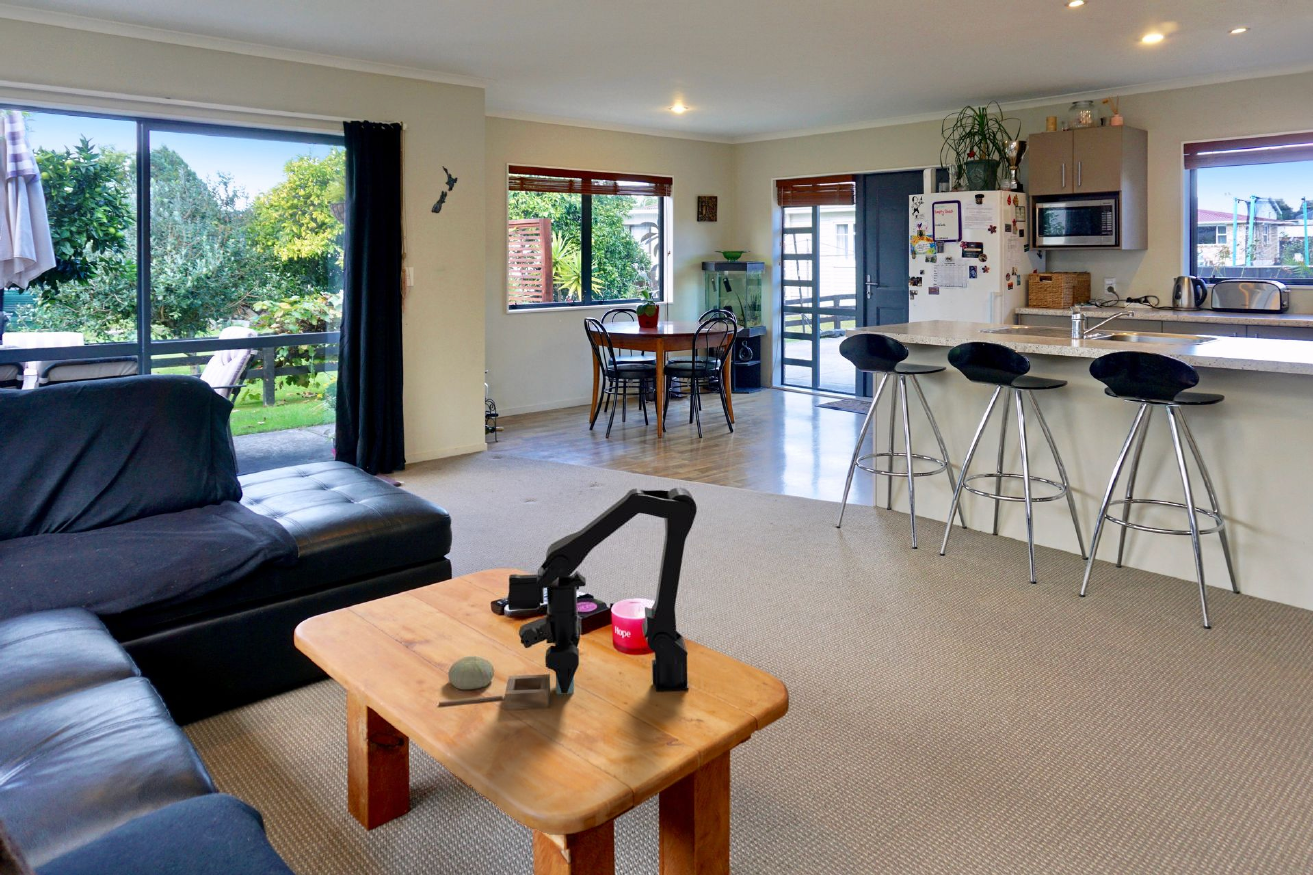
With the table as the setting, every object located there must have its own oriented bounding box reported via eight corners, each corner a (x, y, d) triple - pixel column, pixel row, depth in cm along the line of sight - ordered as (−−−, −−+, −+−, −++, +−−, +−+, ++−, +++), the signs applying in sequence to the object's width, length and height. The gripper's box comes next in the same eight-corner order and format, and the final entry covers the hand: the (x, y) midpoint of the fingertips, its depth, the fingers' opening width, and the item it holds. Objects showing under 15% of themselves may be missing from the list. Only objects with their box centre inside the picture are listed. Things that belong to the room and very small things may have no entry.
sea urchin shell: (450, 688, 183) (446, 649, 187) (449, 702, 189) (446, 665, 193) (497, 681, 185) (492, 643, 189) (495, 696, 191) (491, 659, 196)
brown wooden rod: (502, 697, 182) (502, 695, 182) (502, 699, 182) (502, 696, 181) (439, 704, 180) (439, 701, 180) (439, 705, 179) (439, 703, 179)
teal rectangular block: (574, 685, 187) (572, 645, 185) (573, 693, 184) (572, 652, 182) (557, 686, 187) (555, 646, 185) (556, 694, 183) (554, 653, 182)
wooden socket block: (550, 689, 185) (549, 674, 185) (548, 707, 178) (547, 692, 177) (509, 690, 185) (508, 675, 184) (505, 709, 177) (504, 693, 177)
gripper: (524, 592, 191) (527, 664, 194) (516, 626, 172) (520, 706, 175) (579, 590, 191) (581, 662, 194) (577, 624, 173) (580, 703, 176)
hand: (565, 682), depth 185 cm, fingers open, 9 cm apart
